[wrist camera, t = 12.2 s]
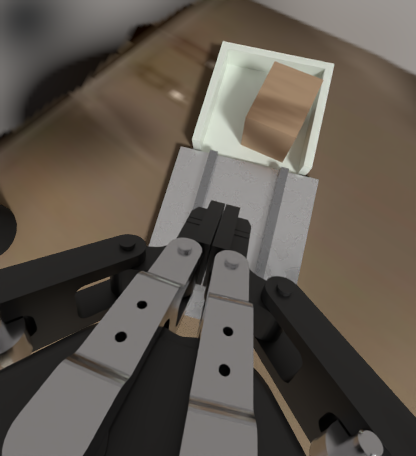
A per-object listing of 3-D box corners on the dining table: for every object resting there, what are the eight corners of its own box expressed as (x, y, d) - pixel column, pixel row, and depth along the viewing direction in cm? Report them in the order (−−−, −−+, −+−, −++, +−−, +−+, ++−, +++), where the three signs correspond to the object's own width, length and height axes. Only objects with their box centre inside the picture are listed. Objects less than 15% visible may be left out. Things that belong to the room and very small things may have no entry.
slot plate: (280, 341, 30) (286, 346, 27) (135, 298, 31) (128, 299, 29) (314, 184, 34) (321, 176, 31) (182, 151, 35) (179, 142, 33)
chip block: (296, 138, 28) (323, 79, 29) (245, 116, 29) (274, 61, 30) (282, 162, 34) (305, 113, 35) (240, 144, 34) (265, 97, 36)
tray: (303, 177, 34) (311, 168, 31) (193, 151, 35) (191, 139, 32) (324, 81, 36) (334, 63, 34) (222, 59, 38) (222, 41, 35)
